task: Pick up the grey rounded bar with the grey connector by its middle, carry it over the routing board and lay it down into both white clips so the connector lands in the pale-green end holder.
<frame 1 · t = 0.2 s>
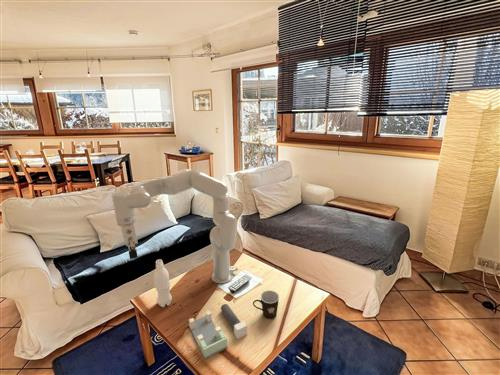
hand: (132, 253, 125), 31 cm above the table, fingers open, 9 cm apart
water bottle: (165, 303, 137), on the table
coffee mug: (266, 313, 129), on the table
route board: (207, 335, 117), on the table
grey rounded bar: (231, 321, 125), on the table
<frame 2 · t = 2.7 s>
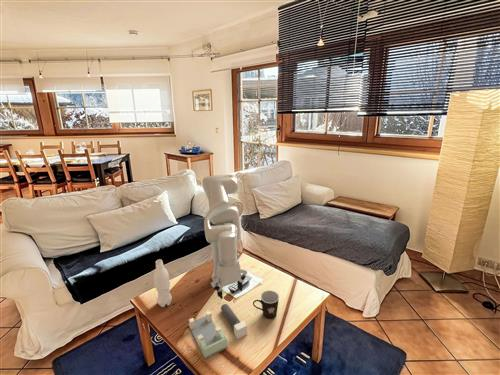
hand: (230, 293, 120), 16 cm above the table, fingers open, 9 cm apart
nothing on the table moved.
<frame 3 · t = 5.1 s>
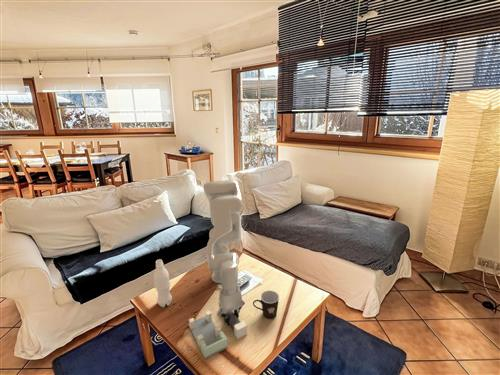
hand: (231, 320, 124), 0 cm above the table, fingers closed on grey rounded bar, 4 cm apart
grey rounded bar: (231, 321, 125), on the table, touching gripper
everything else where it was.
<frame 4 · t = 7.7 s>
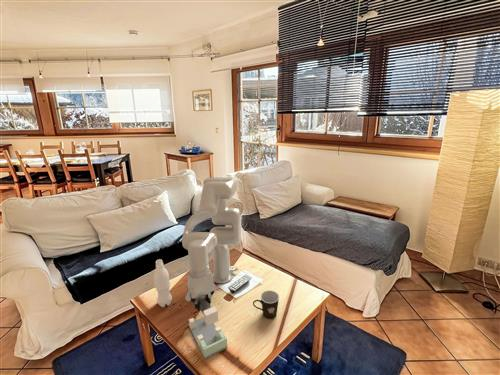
hand: (203, 306, 114), 15 cm above the table, fingers closed on grey rounded bar, 4 cm apart
grey rounded bar: (203, 307, 114), point 14 cm above the table, touching gripper
everything else where it was.
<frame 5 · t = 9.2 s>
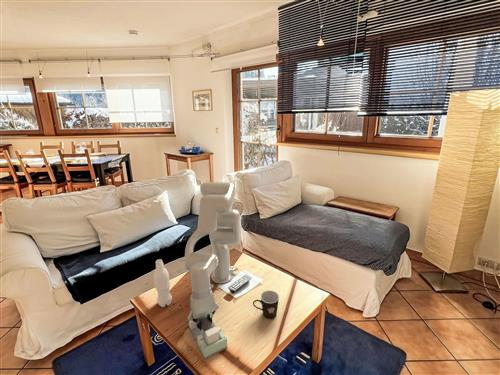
hand: (204, 325, 117), 5 cm above the table, fingers closed on grey rounded bar, 4 cm apart
grey rounded bar: (204, 326, 117), point 4 cm above the table, touching gripper
everything else where it was.
when the fingers open (3 cm above the table, at t = 10.2 s): grey rounded bar drops 1 cm, resting on route board.
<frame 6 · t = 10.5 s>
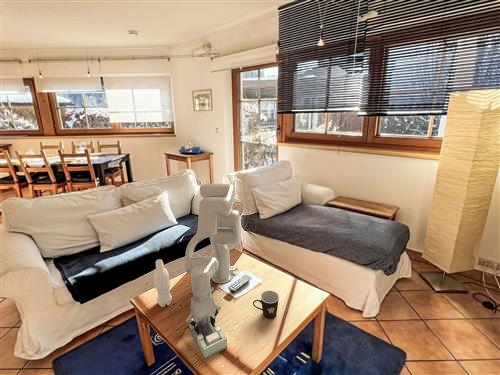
hand: (205, 327, 117), 3 cm above the table, fingers open, 6 cm apart
grey rounded bar: (205, 331, 118), point 1 cm above the table, touching route board
everything else where it was.
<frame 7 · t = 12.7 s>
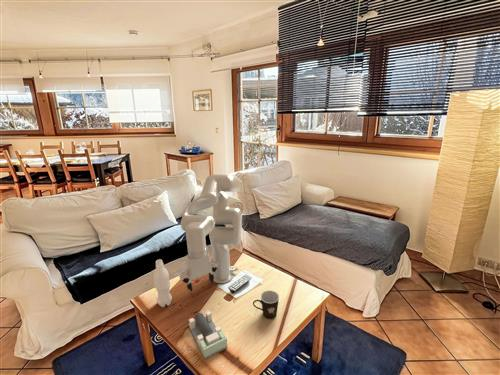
hand: (201, 285, 117), 21 cm above the table, fingers open, 9 cm apart
nothing on the table moved.
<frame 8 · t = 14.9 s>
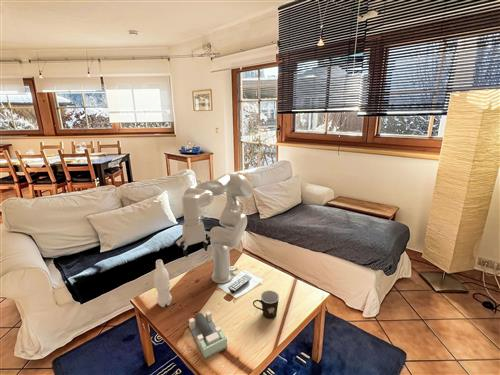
hand: (195, 252, 129), 28 cm above the table, fingers open, 9 cm apart
nothing on the table moved.
at the end: grey rounded bar 0.1 cm from the target spot on the route board, point 1.0 cm above the route board's base; the gripper is holding nothing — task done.
